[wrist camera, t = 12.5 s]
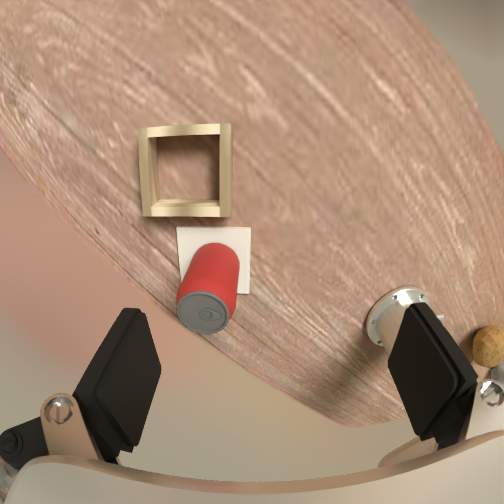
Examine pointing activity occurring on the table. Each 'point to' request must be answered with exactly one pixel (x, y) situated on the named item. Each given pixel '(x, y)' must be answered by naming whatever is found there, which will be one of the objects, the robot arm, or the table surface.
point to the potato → (488, 346)
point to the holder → (151, 180)
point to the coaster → (230, 236)
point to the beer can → (209, 289)
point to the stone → (498, 372)
